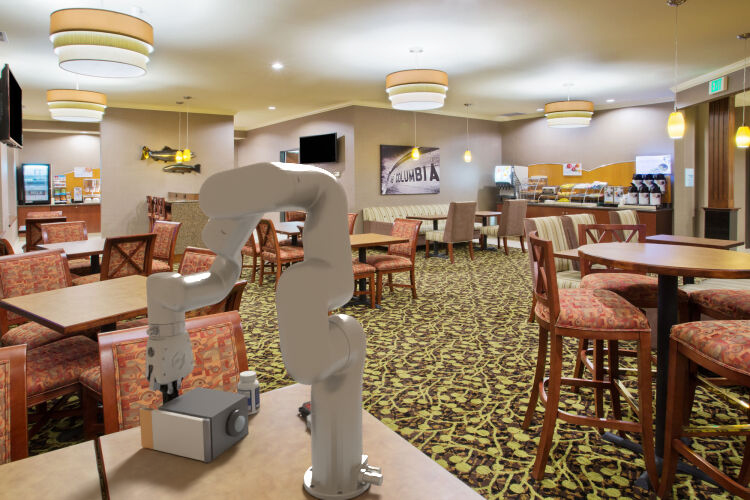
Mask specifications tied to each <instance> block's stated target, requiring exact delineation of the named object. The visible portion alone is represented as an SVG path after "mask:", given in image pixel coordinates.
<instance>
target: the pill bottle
mask: <svg viewBox="0 0 750 500" xmlns="http://www.w3.org/2000/svg"><path fill="white" fill-rule="evenodd" d="M236 389H237V391H236V392H237V394H243V395H247V399H248V416H251V415H254V414H257V413H258V412H259V411H260V410H261V395H260V394H261V393H260V391H261V390H260V382H259V380H258V379H257V372H256V371H255V370H245V371H242V372H240V373H239V381H238V383H236Z"/></svg>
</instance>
